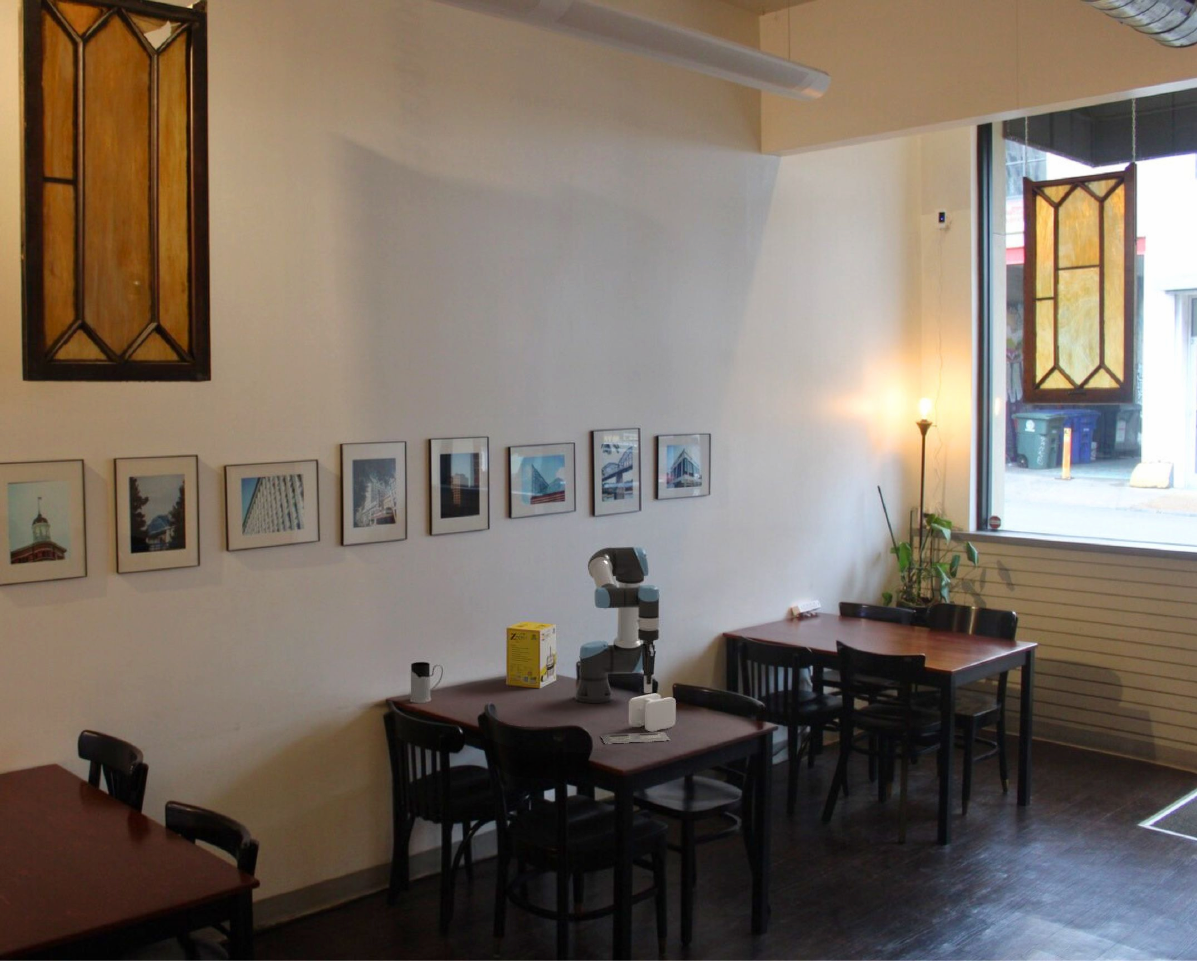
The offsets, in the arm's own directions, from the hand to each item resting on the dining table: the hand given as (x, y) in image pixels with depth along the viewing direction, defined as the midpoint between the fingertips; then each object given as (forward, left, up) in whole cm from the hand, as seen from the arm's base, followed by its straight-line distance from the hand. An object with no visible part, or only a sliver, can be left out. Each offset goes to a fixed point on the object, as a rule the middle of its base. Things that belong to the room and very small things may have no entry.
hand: (647, 692), depth 414 cm
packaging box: (-89, -32, -17) cm, 96 cm away
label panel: (+1, -5, -17) cm, 18 cm away
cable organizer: (-12, +4, -17) cm, 21 cm away
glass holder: (-68, -78, -17) cm, 105 cm away
